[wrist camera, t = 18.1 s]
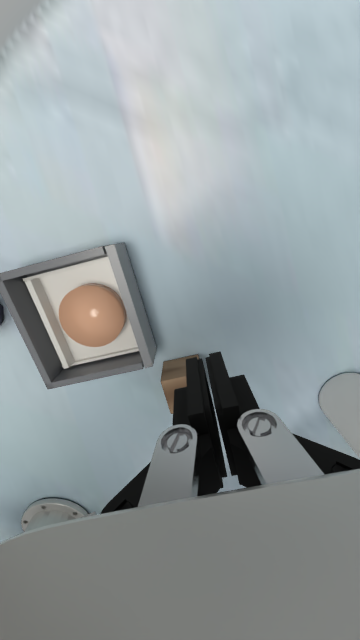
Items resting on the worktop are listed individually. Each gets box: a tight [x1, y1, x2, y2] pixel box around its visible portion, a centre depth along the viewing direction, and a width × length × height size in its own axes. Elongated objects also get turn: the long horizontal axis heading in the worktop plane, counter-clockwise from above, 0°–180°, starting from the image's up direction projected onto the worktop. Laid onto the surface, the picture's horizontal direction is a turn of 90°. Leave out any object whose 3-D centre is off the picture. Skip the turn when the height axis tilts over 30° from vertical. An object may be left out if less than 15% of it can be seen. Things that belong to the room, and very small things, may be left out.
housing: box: [0, 245, 144, 389], centre depth 31 cm, size 12×15×5 cm
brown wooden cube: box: [161, 354, 199, 414], centre depth 34 cm, size 5×5×5 cm
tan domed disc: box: [59, 283, 126, 347], centre depth 31 cm, size 8×8×2 cm
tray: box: [23, 243, 157, 369], centre depth 31 cm, size 13×14×5 cm
